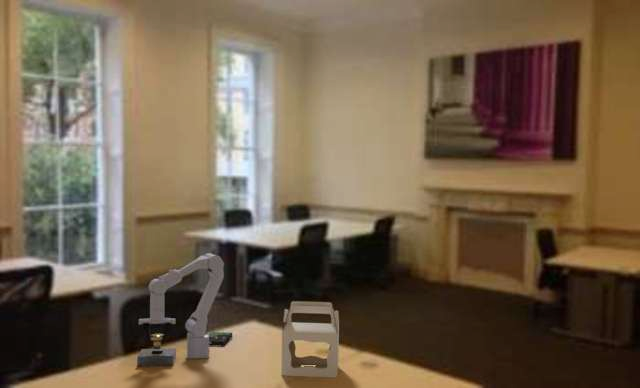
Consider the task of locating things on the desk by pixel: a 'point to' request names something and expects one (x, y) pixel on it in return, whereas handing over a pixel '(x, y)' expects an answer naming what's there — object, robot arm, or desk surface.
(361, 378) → the desk surface
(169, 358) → the block
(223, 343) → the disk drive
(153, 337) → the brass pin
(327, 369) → the gable box
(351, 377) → the desk surface
